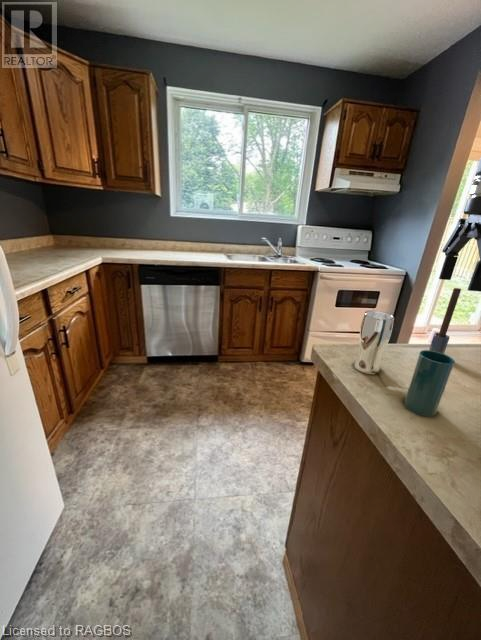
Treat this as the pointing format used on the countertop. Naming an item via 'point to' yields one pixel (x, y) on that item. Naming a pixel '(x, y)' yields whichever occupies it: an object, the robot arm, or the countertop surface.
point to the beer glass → (373, 340)
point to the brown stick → (449, 312)
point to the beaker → (428, 382)
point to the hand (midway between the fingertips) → (458, 284)
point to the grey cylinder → (439, 343)
